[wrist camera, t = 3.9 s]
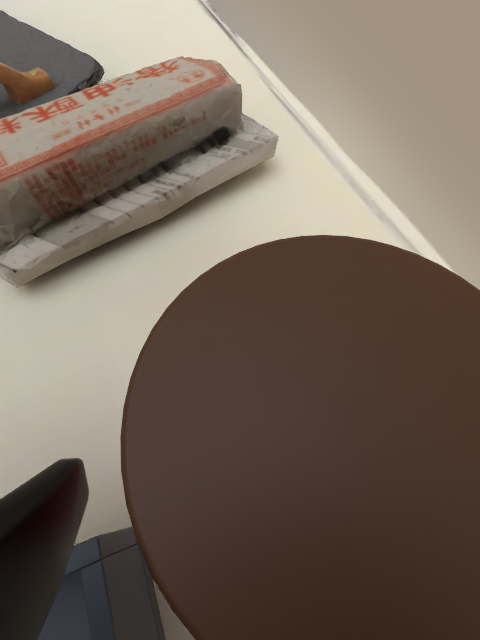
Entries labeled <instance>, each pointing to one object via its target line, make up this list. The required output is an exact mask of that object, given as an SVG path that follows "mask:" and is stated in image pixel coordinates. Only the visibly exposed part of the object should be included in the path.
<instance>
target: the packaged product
mask: <svg viewBox="0 0 480 640" xmlns="http://www.w3.org/2000/svg"><path fill="white" fill-rule="evenodd" d="M278 137H279V136H277V135H276V134H275V133H273V132H272V131H270V130H269V129H268V128H266V127H264V126H262V125H260V124H259V123H257V122H256V121H255V120H253V119H252V118H250V117H248V116H246V115H244V114H243V113H242V90H241V84H238V83H237V82H236V81H235V79H234V78H233V77H231V76H230V75H229V74H228V72H227V71H226V70H225V69H224V67H223V66H222V65H221V64H220V63H218V62H216V61H214V60H202V59H194V58H193V59H192V58H189V57H187V58H184V57H178V58H175V59H171V60H168V61H165V62H162V63H159V64H156V65H152V66H149V67H145V68H143V69H141V70H139V71H136V72H134V73H131V74H127V75H123V76H120V77H118V78H115V79H113V80H110V81H108V82H105V83H103V84H99V85H95V86H93V87H91V88H86V89H84V90H82V91H80V92H77V93H74V94H71V95H68V96H64V97H61V98H58V99H56V100H54V101H51V102H48V103H45V104H42V105H39V106H36V107H33V108H30V109H27V110H25V111H23V112H20V113H18V114H14V115H11V116H8V117H5V118H2V119H0V274H1V276H2V278H3V279H4V280H6V281H7V282H9V283H10V284H12V285H14V286H15V287H17V288H18V287H19V286H21V285H23V284H25V283H27V282H29V281H31V280H33V279H35V278H36V277H38V276H40V275H42V274H44V273H46V272H48V271H50V270H51V269H53V268H55V267H57V266H59V265H61V264H63V263H65V262H67V261H69V260H71V259H73V258H75V257H77V256H79V255H82V254H84V253H86V252H88V251H90V250H92V249H94V248H96V247H99V246H101V245H103V244H105V243H107V242H109V241H111V240H113V239H116V238H118V237H120V236H122V235H124V234H127V233H129V232H131V231H133V230H136V229H138V228H140V227H143V226H145V225H147V224H150V223H152V222H154V221H156V220H159V219H161V218H163V217H165V216H166V215H168V214H170V213H171V212H173V211H174V210H176V209H178V208H179V207H181V206H182V205H184V204H186V203H187V202H189V201H191V200H192V199H194V198H195V197H197V196H199V195H200V194H202V193H204V192H206V191H208V190H210V189H212V188H214V187H216V186H218V185H220V184H221V183H223V182H225V181H227V180H229V179H231V178H233V177H235V176H237V175H239V174H241V173H243V172H244V171H246V170H248V169H250V168H252V167H254V166H256V165H258V164H260V163H262V162H264V161H266V160H267V159H269V158H271V157H273V156H274V153H275V149H276V145H277V141H278Z"/></svg>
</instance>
